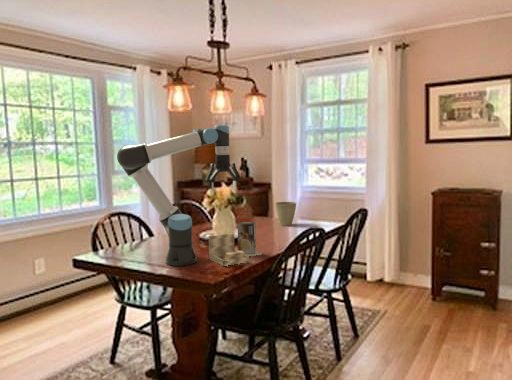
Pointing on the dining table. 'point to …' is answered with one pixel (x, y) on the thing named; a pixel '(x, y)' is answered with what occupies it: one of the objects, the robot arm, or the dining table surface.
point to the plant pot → (286, 212)
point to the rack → (223, 249)
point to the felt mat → (253, 254)
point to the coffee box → (247, 237)
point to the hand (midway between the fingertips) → (223, 193)
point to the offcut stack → (234, 255)
